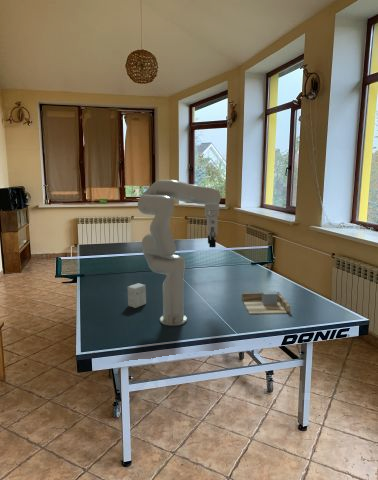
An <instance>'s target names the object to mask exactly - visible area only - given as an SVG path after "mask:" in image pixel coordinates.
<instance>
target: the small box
mask: <svg viewBox="0 0 378 480" xmlns="http://www.w3.org/2000/svg"><path fill="white" fill-rule="evenodd" d="M126 288H127V302H128V303H127V305H128V307H132V308H134V309H136V308H140V307H141V306H144V305H146V304H147V290H146V289H147V288H146V284H142V283H139V282H138V283H135V284H131V285H129V286H127V287H126Z"/></svg>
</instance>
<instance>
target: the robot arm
mask: <svg viewBox="0 0 378 480" xmlns="http://www.w3.org/2000/svg"><path fill="white" fill-rule="evenodd" d="M221 197H222V195H221V193H220V190H219V189H215V188H212V187H207V186H202V185H201V186H200V185H197V184H191V183H186V182H183V181H180V180H177V179H176V180H175V179H159V180H156V181H155V182H153V183H152V184H151V185H150V186H149V187H148V188H147V189H146V190H145V191H144V192H143V193H142V194H141V195H140V197H139V199H138V200H137V209H138V211H139V212H140V213H141V214H143V215H151V216H154V217H153V219H152V221H151V223H150V225H149V226H150V227H149V232H150V233H147V234H146V235H144V237H142V240H141V249H142V254H143V255H144V258H145V260H146V263H147V265H148V267H149V269H150V270H151V271H152V272H153V273H156V274H161V275H165V276H166V277H165V279H164V280H163V282H162V312H163V313H162V315H161V316H160V317H159V322H160V323H161V324H162V325H165V326H171V327H175V326H176V327H177V326H182V325H184V324H185V323H186V322H187V321H188V317H187V316H186V315H184V313H185V312H184V309H185V308H184V278H185V277H184V276H185V270H186V260H185V259H184V257H183V256H180V255H177V254H176V250H177V247H176V242H175V239H174V237H173V234H172V231H171V228H170V221H171V217H172V216H173V213H174V210H175V201H179V202H184V203H189V204H190V203H191V204H192V203H193V204H196V205H204V217H206V230H207V231H206V232H207V234H208V235H207V244H208V245H209V246H208V247H209V248H216V246H217V244H216V243H217V240H216V236H218V235H219V234H218V233H219V230H218V217H219V216H220V202H221ZM174 200H175V201H174Z"/></svg>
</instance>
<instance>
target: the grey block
mask: <svg viewBox="0 0 378 480" xmlns="http://www.w3.org/2000/svg"><path fill="white" fill-rule="evenodd" d="M261 293H262V304H263V305H277V299H278V294H277V293H276V291H275V290H271V291H267V290H265V291H263V290H262V291H261Z"/></svg>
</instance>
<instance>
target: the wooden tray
mask: <svg viewBox="0 0 378 480" xmlns="http://www.w3.org/2000/svg"><path fill="white" fill-rule="evenodd" d="M276 293H277V294H278V299H277V305H263V304H262V292H242V293H241V301H242V302H243V305H244V307H245V309H246V310H247V312H248V315H273V314H274V315H277V314H278V315H279V314H291V305H290V303H289V301H287V300H286V299H285V298H284V296H283V295H282V294H281V293H280V292H279V291H277V292H276Z"/></svg>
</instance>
